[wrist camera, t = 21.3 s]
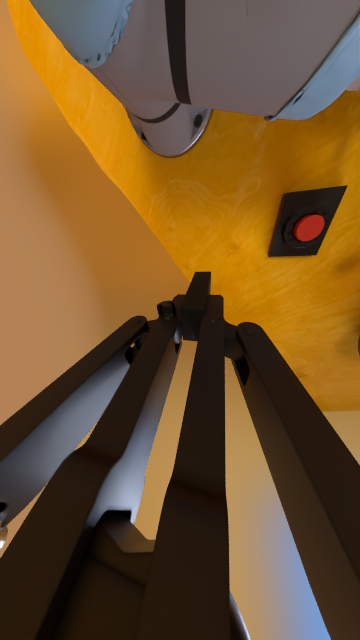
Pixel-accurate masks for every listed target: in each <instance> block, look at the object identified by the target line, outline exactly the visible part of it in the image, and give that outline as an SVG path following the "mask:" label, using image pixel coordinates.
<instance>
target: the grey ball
mask: <svg viewBox="0 0 360 640" xmlns="http://www.w3.org/2000/svg"><path fill="white" fill-rule="evenodd" d="M358 352H359V355H360V336H359V339H358Z"/></svg>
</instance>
